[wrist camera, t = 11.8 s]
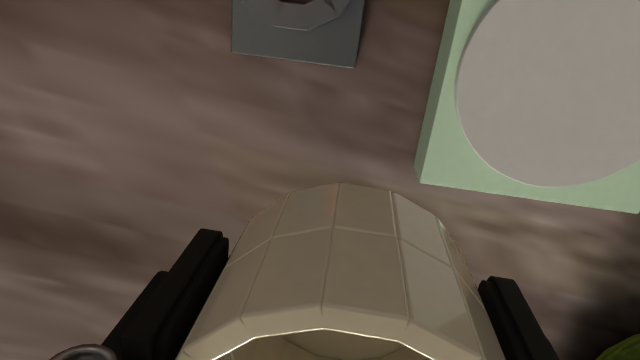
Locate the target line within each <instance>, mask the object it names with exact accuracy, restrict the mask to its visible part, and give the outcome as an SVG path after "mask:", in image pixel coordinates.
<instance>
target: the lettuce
mask: <svg viewBox="0 0 640 360" xmlns="http://www.w3.org/2000/svg"><path fill="white" fill-rule="evenodd" d="M596 360H640V334H637V335H633V336H631V337H629V338H627V339H625V340H623V341H621V342H619V343H617V344H616V345H614V346H612V347H610V348H608V349H606V350H605V351H604V352H603V353H602V354H601V355H600V356H599V357H598V358H597V359H596Z"/></svg>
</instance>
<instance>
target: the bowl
mask: <svg viewBox="0 0 640 360" xmlns="http://www.w3.org/2000/svg"><path fill="white" fill-rule="evenodd" d="M173 360H506V359H505V357H504V354H503V352H502V349H501V347H500V344H499V342H498V339H497V337H496V334H495V332H494V329H493V327H492V324H491V322H490V319H489V317H488V314H487V312H486V309H485V307H484V304H483V302H482V299H481V297H480V294H479V292H478V289H477V287H476V284H475V282H474V279H473V277H472V274H471V272H470V269H469V267H468V264H467V262H466V259H465V257H464V255H463V252H462V250H461V249H460V248H459V246H458V245H457V243H456V242H455V241H454V239H453V238H452V237H451V235H450V234H449V233H448V231H447V230H446V228H445V227H444V226H443V224H442V223H441V222H440V220H439V219H438V218H437V217H435V216H434V215H433V214H431V213H430V212H428V211H426V210H425V209H423V208H421V207H419V206H418V205H416V204H414V203H412V202H411V201H409V200H407V199H405V198H404V197H402V196H400V195H399V194H397V193H395V192H391V191H389V190H385V189H378V188H372V187H367V186H361V185H353V184H346V183H340V184H339V183H332V184H327V185H322V186H318V187H313V188H308V189H303V190H298V191H294V192H291V193H287V194H286V195H284V196H283V197H281V198H280V199H278V200H277V201H275V202H274V203H272V204H271V205H269V206H268V207H267V208H265V209H264V210H262V211H261V212H259V213H258V214H256V215H255V216H253V217H252V219H251V220H250V221H249V222H248V224H247V226H246V228H245V229H244V231H243V233H242V235H241V236H240V238H239V240H238V242H237V243H236V245H235V247H234V248H233V250H232V252H231V254H230V256H229V258H228V259H227V261H226V263H225V265H224V267H223V269H222V271H221V272H220V274H219V276H218V278H217V280H216V282H215V283H214V285H213V287H212V289H211V291H210V293H209V295H208V296H207V298H206V300H205V302H204V304H203V306H202V308H201V309H200V311H199V313H198V315H197V317H196V319H195V321H194V322H193V324H192V326H191V328H190V330H189V332H188V333H187V335H186V337H185V339H184V341H183V343H182V345H181V346H180V348H179V350H178V352H177V354H176V356H175V358H174V359H173Z"/></svg>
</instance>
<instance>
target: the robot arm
mask: <svg viewBox="0 0 640 360" xmlns="http://www.w3.org/2000/svg"><path fill="white" fill-rule="evenodd" d="M228 249H229V240H228V238H225V237H223V234H222V232H221V231H215V230H209V229H203V228H202V229H200V230H199V231H198V233H197V234H196V235H195V237H194V238H193V239H192V241H191V242H190V243H189V245H188V246H187V248H186V249H185V250H184V252H183V253H182V254H181V256H180V257H179V258H178V260H177V261H176V263H175V264H174V265H173V267H172V268H171V269H170V271H169V272H166V271H160V272H158V273H157V274H156V275H155V276H154V277H153V279H152V280H151V281H150V283H149V284H148V285H147V286H146V288H145V289H144V290H143V292H142V293H141V294H140V295H139V297H138V298H137V299H136V301H135V302H134V303H133V304H132V306H131V307H130V308H129V310H128V311H127V312H126V313H125V315H124V316H123V317H122V319H121V320H120V321H119V322H118V324H117V325H116V326H115V328H114V329H113V330H112V332H111V333H110V334H109V335H108V337H107V338H106V339H105V341H104V342H103V343H102V344H101V345H98V344H83V345H79V346H75V347H71V348H69V349H66V350H64V351H62V352H60V353H58V354H56V355H55V356H53V357H52V358H51V359H49V360H173V359H174V358H175V356H176V354H177V352H178V350H179V348H180V346H181V345H182V343H183V341H184V339H185V337H186V335H187V333H188V332H189V330H190V328H191V326H192V324H193V322H194V321H195V319H196V317H197V315H198V313H199V311H200V309H201V308H202V306H203V304H204V302H205V300H206V298H207V296H208V295H209V293H210V291H211V289H212V287H213V285H214V283H215V282H216V280H217V278H218V276H219V274H220V272H221V271H222V269H223V267H224V265H225V263H226V261H227V259H228ZM478 292H479V294H480V297H481V299H482V302H483V304H484V307H485V309H486V312H487V314H488V317H489V319H490V322H491V324H492V327H493V329H494V332H495V334H496V337H497V339H498V342H499V344H500V347H501V349H502V352H503V354H504V357H505V359H506V360H559V358H558V356H557V354H556V353H555V351H554V349H553V347H552V345H551V343H550V342H549V341H548V339H547V338H546V337H545V335H544V333H543V332H542V330H541V328H540V326H539V324H538V322H537V321H536V319H535V317H534V315H533V313H532V311H531V309H530V308H529V306H528V304H527V302H526V300H525V298H524V297H523V295H522V293H521V291H520V289H519V287H518V286H517V284H516V282H515V281H514V280H512V279H507V278H501V277H494V276H490V277H489V278H488V280H487V281H485V280H483V281H481V283H480V285H479V287H478Z"/></svg>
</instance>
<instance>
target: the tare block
mask: <svg viewBox="0 0 640 360" xmlns="http://www.w3.org/2000/svg"><path fill="white" fill-rule="evenodd" d="M364 4H365V0H232V33H231V52H232V53H237V54H245V55H253V56H260V57H268V58H276V59H283V60H291V61H298V62H306V63H314V64H321V65H329V66H337V67H344V68H352V69H354V68H355V66H356V59H357V52H358V46H359V39H360V32H361V25H362V18H363V11H364Z"/></svg>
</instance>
